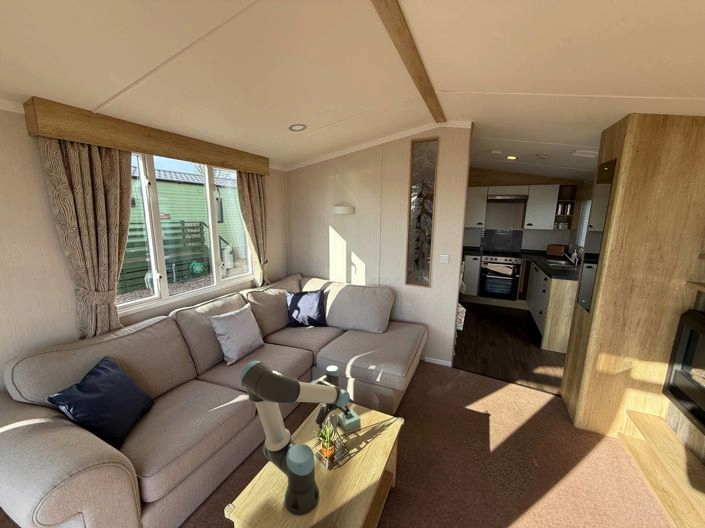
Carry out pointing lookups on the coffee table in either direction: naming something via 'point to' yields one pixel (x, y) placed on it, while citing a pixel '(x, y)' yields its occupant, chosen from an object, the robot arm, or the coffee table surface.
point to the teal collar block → (350, 420)
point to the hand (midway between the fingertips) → (333, 428)
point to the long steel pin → (333, 421)
